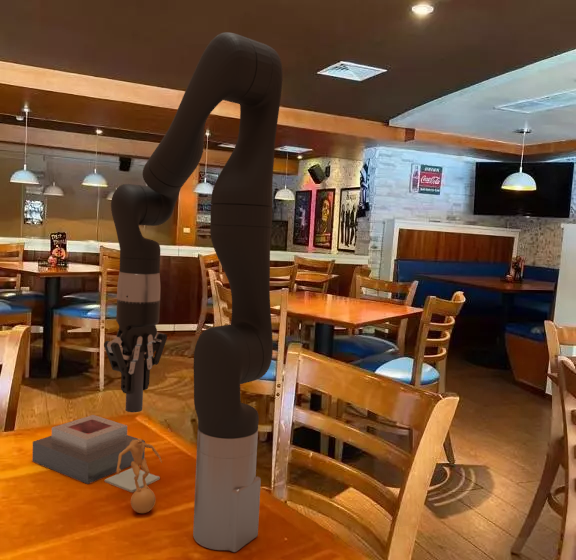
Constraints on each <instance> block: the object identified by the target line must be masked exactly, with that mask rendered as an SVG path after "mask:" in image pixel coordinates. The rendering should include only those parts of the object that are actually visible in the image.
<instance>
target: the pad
mask: <svg viewBox="0 0 576 560" xmlns="http://www.w3.org/2000/svg"><path fill="white" fill-rule="evenodd" d="M139 473H140V474H139V478H138V480H137V481H138V484H139V487H140V488H143V487H144V485H143V480H142V478H143V477H142V476H143V474H145V472H144V471H143V470H142V469H140V471H139ZM135 476H136V475H135V474H134V472H133V469H132V467H130V468H129V469H126V470H124V471H122V472H121V471H120V474H119V475H118V473H116V474H115V475H112V476H110V477H108V478H106V479H104V483H106V484H109V485H112V486H114V487H117V488H119V489H122V490H124V491H127V492H130V493H134V492H135V491H136V490H137V489H136V485H135V480H134V477H135ZM160 478H161V477H160V476H159V475H155V474H153V473H150V472H149V474H148V475H147V477H146V478H145V481H146V484H147V486H148V485H151V484H152V483H155V482H156V481H159V480H160Z"/></svg>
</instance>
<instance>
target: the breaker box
mask: <svg viewBox="0 0 576 560" xmlns="http://www.w3.org/2000/svg"><path fill="white" fill-rule="evenodd" d="M86 433H90V434H86ZM138 439H139V438H138V437H134V436H132V435H128V425H127V424H123V423H120V422H116V421H114V420H111V419H107V418H104V417H102V416H99V415H95V414H91V415H89V416H85V417H82V418H78V419H75V420H72V421H69V422H65V423H63V424H62V423H61V424H58V425H55V426H53V427H51V435H50V436H46V437H43V438H39V439H37V440H34V441H32V460H31V461H32V463H35V464H37V465H40V466H42V467H45V468H48V469H50V470H52V471H55V472H57V473H59V474H61V475H65V476H67V477H68V478H71V479H75V480H77V481H79V482H82V483H83V484H87V485H90V484H92V483H94V482H97V481H99V480H101V479H104V478H106V477H108V476H111V475H113V474H116V473H118V472H117V465H118V457H119V454H120V453H121V452H122V451H123V450H124V449H126V448H127V446H129V444H130V442H131V441H132V440H138ZM141 440H142V442H144V443H146V441H145V440H143V439H141ZM145 448H146V447H144V452H143V455H142V460H143V458H145ZM132 461H134V458H133V456H132V453H131V451H128V452H127V453H125V454H124V455H122V458H121V464H120V467H119V468H120V469H121V471H122V470H125V469H126V468H129V467H131V462H132ZM119 471H120V470H119ZM121 471H120V472H121Z"/></svg>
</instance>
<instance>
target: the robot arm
mask: <svg viewBox="0 0 576 560" xmlns="http://www.w3.org/2000/svg"><path fill="white" fill-rule="evenodd" d="M282 65H283V64H282V60H281V57H280V55H279V53H278V51H276V49H274V48H273V47H271V46H269V45H268V44H266V43H263V42H260V41H257V40H255V39H252V38H249V37H246V36H243V35H240V34H238V33H234V32H229V31H228V32H221V33H219V34H217V35H216V36H214V38H212V39H211V40H210V41H209V43H208V44H207V46H206V47H205V49H204V50H203V53H202V54H201V56H200V58H199V61H198V62H197V65H196V66H195V69H194V72H193V73H192V76H191V78H190V80H189V83H188V85H187V87H186V89H185V91H184V94H183V96H182V98H181V100H180V103H179V105H178V108H177V110H176V113H175V115H174V117H173V120H172V121H171V123H170V125H169V127H168V129H167V131H166V132H165V134H164V136H163V137H162V139H161V140H160V142H159V144H157V146H156V148H155V149H154V151H153V152H152V154H151V155H150V156H149V158H148V159H147V161H146V163H145V164H144V166H143V169H142V178H143V181H144V183H145V184H146V185H142V184H131V183H124V184H121V185H119V186H118V187H117V188H116V189H115V190H114V192H113V194H112V196H111V201H110V211H111V214H112V215H111V216H112V221H113V224H114V228H115V232H116V236H117V240H118V241H117V242H118V247H119V272H118V277H117V278H118V279H117V286H116V287H117V289H116V290H117V291H116V313H115V314H116V315H115V316H116V318H115V319H116V323H117V324H118V330H117V333H116V337H114V338H113V339H112V340H106V341H104V343H103V346H104V349H105V352H106V356H107V358H108V361H109V363H110V367H111V369H112V370H113V371H116V372H119V373H120V374H121V376H120V379H121V380H120V390H121V391H122V393H123V394H125V395H126V394H132V393H134V374H133V373H134V369H135V363H136V361H138V357H139V352H142V351H145V355H144V380H143V391H147V390H149V389H148V388H149V385H150V379H151V378H150V377H151V373H150V372H151V369H152V368H153V366H155V365H159V363H160V361H161V358H162V354H163V353H164V352H163V351H164V348H165V345H166V342H167V340H168V335H167V334H166V333H163V332H158V329H157V325H158V324H159V322H160V313H161V312H160V311H161V310H160V308H161V306H160V305H161V277H160V276H161V275H160V274H161V273H160V272H161V270H160V269H161V268H160V267H161V246H160V244H159V242H158V241H156V240H153V239H150V238H145V237H144V236H143V234H142V232H141V229H140V226H150V227H151V226H152V227H153V226H154V227H156V226H161V225H163V224H165V223H166V222H167V221H169V219H170V218H171V217H172V215H173V212H174V210H175V206H176V203H177V200H178V198H179V195H180V193H181V192H180V191H181V188H182V187H183V186H184V185H185V183H187V181H188V179H189V178H190V177H191V176H192V174H193V173H194V172H195V170H196V169H197V167H198V166H199V164H200V162H201V159H202V156H203V153H204V148H205V147H204V146H205V143H204V142H205V128H206V122H207V120H208V118H209V116H210V114H212V112H213V111H214V109H215V108H216V107H217V106H218V105H219V104H220V103H221V102H222V101H225V102H230V103H232V104H238V105H239V111H240V112H239V124H238V125H239V127H238V134H237V140H236V143H235V146H234V148H233V151H232V152H231V154H230V156H229V158H228V159H227V161H226V163H225V165H224V166H223V168H222V170H221V171H220V173H219V175H218V176H217V179H216V180H215V183H214V185H213V188H212V192H211V198H210V217H209V219H210V220H209V221H210V222H209V224H210V225H209V232H210V240H211V243H212V247H213V249H214V252H215V254H216V257H217V258H218V261H219V264H220V266H221V267H222V269H223V271H224V274H225V276H226V278H227V281H228V285H229V288H230V294H231V321H230V324H224V325H218V326H212V327H209V328H206V329H205V330H204V331H202V332H201V334H200V335H199V336H198V338H197V340H196V342H195V345H194V346H195V347H194V351H193V403H194V409H195V410H194V411H195V413H196V416H197V436H196V437H197V438H196V439H197V440H196V459H195V460H196V461H195V464H196V465H195V482H194V483H195V484H194V485H195V486H194V503H193V504H194V507H193V508H194V509H193V510H194V511H193V512H194V514H193V531H192V532H193V533H192V535H193V538H194V541H195V542H196V543H197V544H199V545H200V546H202V547H204V548H207V549H210V550H215V551H230V552H232V553H236V552H238V551H239V550H240V549H242V548H244V546H246V545H247V544H249V543H250V542H252V541H253V540H254V539H255V538H257V537H258V535H259V519H260V518H259V517H260V503H261V502H260V499H261V497H260V496H261V485H262V484H261V482H262V481H261V480H262V479H261V477H260V476H258V475H257V476H256V474H257V471H256V470H257V457H258V456H257V452H258V437H259V421H260V420H259V419H260V418H259V417H260V416H259V413H258V410H257V409H256V408H255V407H254V406H252V405H250V404H247V403H243V402H242V401H241V385H243V384H246V383H251V382H254V381H257V380H260V379H261V378H262V377H264V376H265V375H266V374H267V372H268V371H269V369H270V367H271V363H272V360H273V353H274V352H273V350H274V347H273V345H274V344H273V342H274V341H273V326H272V325H273V324H272V311H271V309H272V308H271V296H270V295H271V292H270V289H271V288H270V287H271V286H270V285H271V284H270V283H271V278H270V276H271V240H272V239H271V237H272V228H273V227H272V226H273V221H272V220H273V182H274V181H273V180H274V179H273V178H274V163H275V147H276V137H277V129H278V128H277V126H278V120H279V114H280V106H281V98H282V90H283V76H284V74H283V66H282ZM127 353H129V354H132V355H131V356H129V355H128V354H127ZM128 361H129V364H128V366H127V362H128Z"/></svg>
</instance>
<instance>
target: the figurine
mask: <svg viewBox="0 0 576 560" xmlns="http://www.w3.org/2000/svg"><path fill="white" fill-rule="evenodd" d="M142 440H143V439H142V438H138V440H132V441H131V442H130V444H129V446H127V448H126V449H124V450H123V451H122V452H121V453H120V454H119V457H118V465H117V472H116V473H117V474H118V475H119V474H120V473H121V471H122V470H121V469H120V468H119V467H120V464H121V458H122V455H124V454H125V453H127V452H128V451H131V453H132V456H133V458H134V461H132V462H131V466H130V468H132V469H133V472H134V474H135V475H136V476H135V477H134V480H135V485H136V489H137V490H136V491H134V492H132V495H131V498H130V506H131V508H132V510H134V511H135V512H136V513H138V514H147V513H149V512H150V511H151V510H152V509H153V508H154V506H155V504H156V495H155V493H154V491H153V490H152V489H151V488H150V487H149V486H148V485H147V484H146V481H145V478H146V477H147V475H148V474H149V473H150V469H149V467H148V464H147V458H145V457H144V458H143V460H142V455H143V452H144V447H145V448H147V449H151V450H152V452H153V453H154V454H155V456H157V458H159V461H160V463H161V464H162V463H163V462H162V457H161V455H160V454H159V452H158V451H157V450H156V448H155V447H154V446H153V444H149V443H146V442H145V443H144V442H142ZM140 467H141V468H140ZM119 470H120V471H119ZM140 470H142V471H144V472H145V474H143V476H142V477H143V478H142V480H143V485H144V487H142V488H140V487H139V484H138V481H137V480H138V478H139V474H140V473H139V471H140Z"/></svg>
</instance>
